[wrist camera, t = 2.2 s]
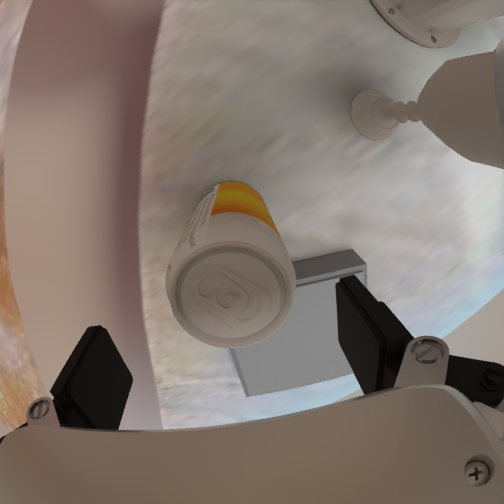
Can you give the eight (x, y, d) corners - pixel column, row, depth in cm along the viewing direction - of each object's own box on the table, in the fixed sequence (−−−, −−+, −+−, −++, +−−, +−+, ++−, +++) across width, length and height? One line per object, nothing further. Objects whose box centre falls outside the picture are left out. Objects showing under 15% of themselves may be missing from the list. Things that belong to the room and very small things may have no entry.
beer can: (237, 257, 28) (243, 371, 14) (185, 219, 26) (137, 311, 12) (278, 207, 26) (329, 288, 12) (225, 166, 25) (214, 202, 11)
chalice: (415, 130, 24) (567, 152, 7) (369, 165, 25) (523, 217, 8) (377, 67, 21) (524, 26, 5) (326, 100, 23) (470, 59, 6)
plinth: (215, 278, 28) (213, 299, 25) (352, 249, 28) (368, 265, 25) (245, 375, 34) (246, 399, 30) (354, 350, 34) (365, 372, 30)
